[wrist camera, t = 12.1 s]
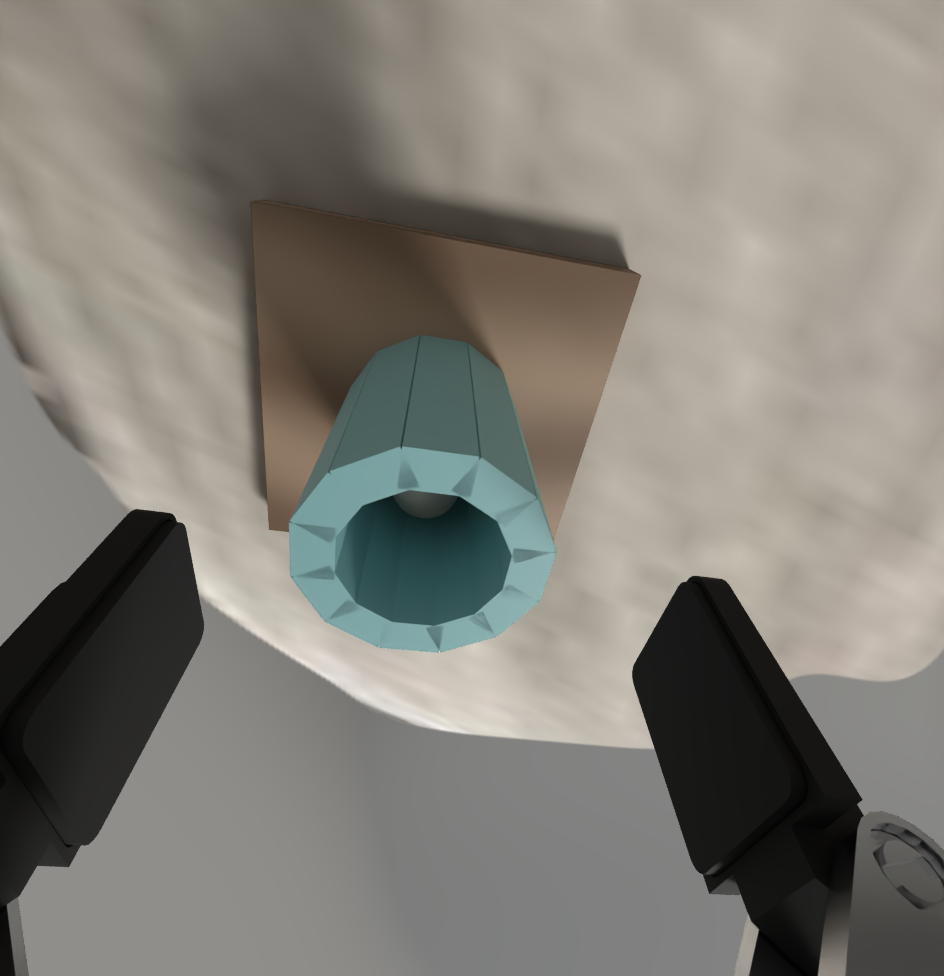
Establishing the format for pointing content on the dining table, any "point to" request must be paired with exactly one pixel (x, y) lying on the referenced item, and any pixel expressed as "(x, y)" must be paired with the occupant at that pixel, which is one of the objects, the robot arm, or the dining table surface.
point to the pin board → (424, 311)
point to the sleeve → (417, 541)
